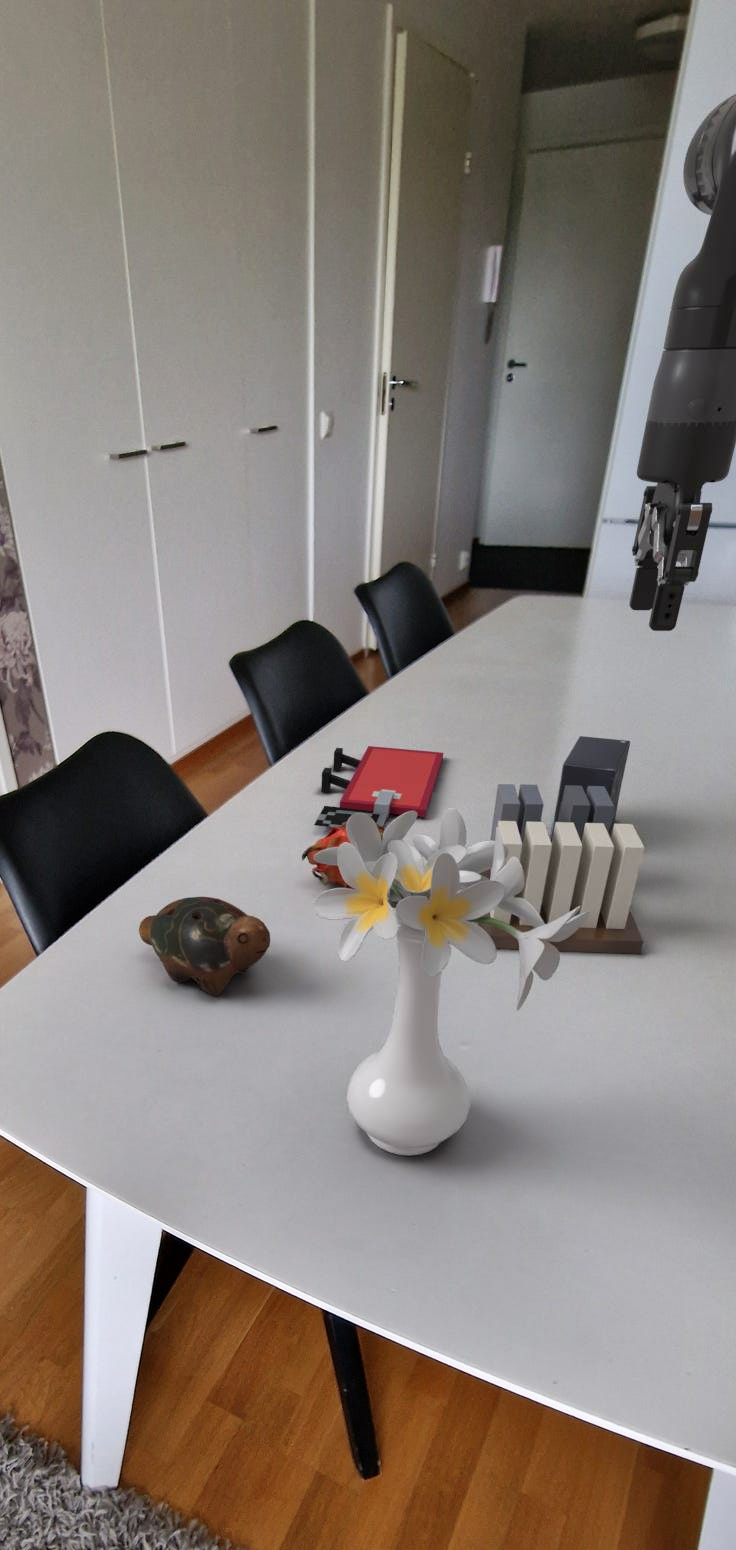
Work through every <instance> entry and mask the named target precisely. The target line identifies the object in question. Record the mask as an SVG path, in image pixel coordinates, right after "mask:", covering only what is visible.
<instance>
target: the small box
mask: <svg viewBox="0 0 736 1550" xmlns="http://www.w3.org/2000/svg"><path fill="white" fill-rule="evenodd" d="M630 747H631V741H630V740H624V739H615V738H604V737H595V736H594V737H593V736H584V735H580V736H579V737H578V738H577V740H576V742H575V744H574V745H573V747H572V748H571V750H570V752H569V754H568V756H567V757H566V758H565V760H564V762H563V764H562V769H561V774H560V780H559V784H558V791H557V796H556V797H557V798H556V803H555V808H554V815H553V821H552V829H551V834H550V841H551V844H552V838H553V833H554V827H555V822H559V816H560V811H561V805H562V800H563V794H564V789H565V785H572V786H582V787H583V790H584V792H585V794H586V792H587V787H588V786H605V788H606V790H607V792H608V794H609V797H610V799H611V801H612V803H613V805H614V810H613V814H612V819H611V823H610V828H609V833H608V834H609V835H610V833H611V831H612V829H613V827H614V824H615V821H616V816H617V811H618V805H619V798H620V794H621V789H622V784H623V780H624V775H625V770H626V765H627V762H628V761H627V760H628V756H629V751H630Z"/></svg>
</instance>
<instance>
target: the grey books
mask: <svg viewBox="0 0 736 1550" xmlns="http://www.w3.org/2000/svg"><path fill="white" fill-rule="evenodd" d="M493 810H494V811H493V818H492V825H491V831H490V832H491V833H490V839H489V841H495V836H496V827H498V821H516V823H517V827H518V830H519V834H520V838H521V841H522V846H523V840H524V834H525V828H526V822H542V816H543V811H544V801H543V799H542V796H541V793H540V790H539V787H538V785H537V784H523V783H522V784H520V785H519V790H518V792H517V789H516V785H515V784H514V783H498V784H497V788H496V796H495V802H494V809H493ZM613 810H614V805H613V803H612V801H611V799H610V797H609V794H608V792H607V790H606V788H605V786H588V787H587V792H586V794H585V792H584V790H583V787H582V786H572V785H565V789H564V794H563V800H562V805H561V811H560V816H559V822H571V823H574V825H575V828H576V830H577V833H578V835H579V838H580V841H581V843H582V838H583V833H584V828H585V823H604V825H605V828H606V830H607V832H608V833H609V828H610V823H611V819H612V814H613ZM609 834H610V833H609ZM521 853H522V850H521ZM520 859H521V856H520ZM491 869H492V868H491ZM491 869H490V872H491Z"/></svg>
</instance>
